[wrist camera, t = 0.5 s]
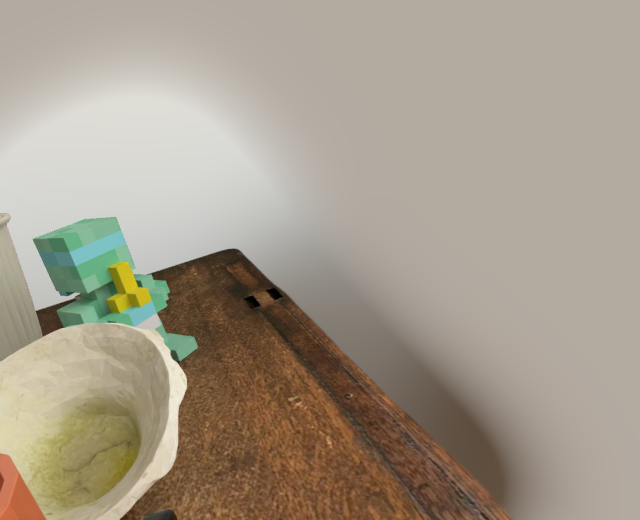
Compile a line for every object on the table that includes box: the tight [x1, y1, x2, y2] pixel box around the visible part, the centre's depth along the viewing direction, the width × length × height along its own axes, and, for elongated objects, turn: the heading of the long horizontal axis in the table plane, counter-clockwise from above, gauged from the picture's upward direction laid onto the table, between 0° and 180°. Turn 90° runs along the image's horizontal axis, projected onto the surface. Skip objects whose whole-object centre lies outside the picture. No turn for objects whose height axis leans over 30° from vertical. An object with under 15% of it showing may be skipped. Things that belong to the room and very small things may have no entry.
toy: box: [33, 217, 198, 361], centre depth 43 cm, size 10×10×15 cm
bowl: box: [0, 323, 187, 520], centre depth 28 cm, size 15×14×10 cm
